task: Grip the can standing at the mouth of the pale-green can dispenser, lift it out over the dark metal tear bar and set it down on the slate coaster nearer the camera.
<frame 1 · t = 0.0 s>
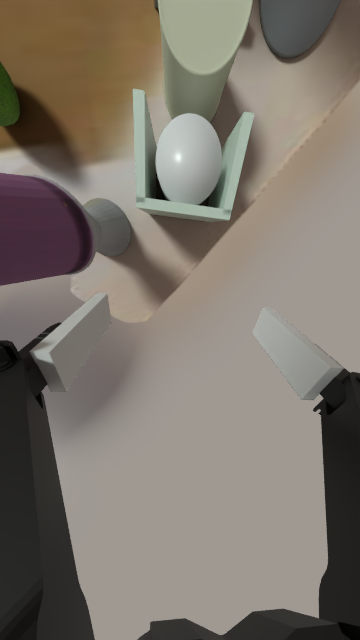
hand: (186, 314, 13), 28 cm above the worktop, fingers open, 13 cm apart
dispenser: (185, 170, 29), on the worktop
fruit: (7, 102, 24), on the worktop
can: (192, 89, 24), on the worktop
lamp: (106, 229, 34), on the worktop
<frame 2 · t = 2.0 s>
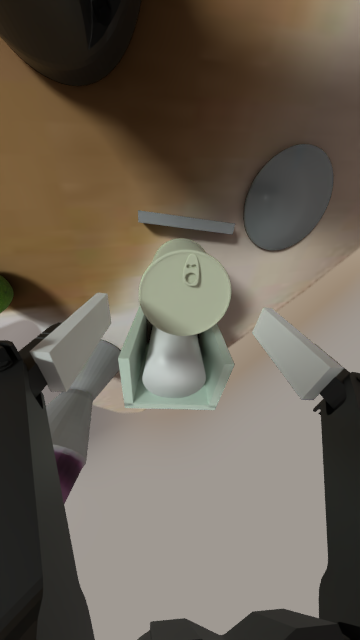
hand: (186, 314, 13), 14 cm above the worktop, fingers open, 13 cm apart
coaster: (284, 205, 21), on the worktop
dispenser: (175, 319, 30), on the worktop
fruit: (1, 282, 25), on the worktop
can: (180, 269, 25), on the worktop
lamp: (100, 356, 35), on the worktop
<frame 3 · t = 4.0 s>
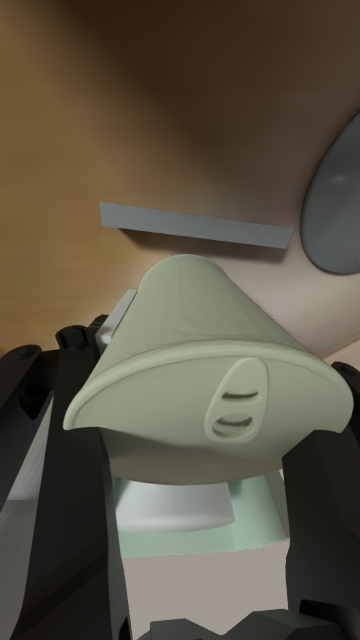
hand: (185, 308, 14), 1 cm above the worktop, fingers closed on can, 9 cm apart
dispenser: (175, 369, 20), on the worktop
can: (184, 302, 15), on the worktop, touching gripper
lamp: (70, 412, 25), on the worktop
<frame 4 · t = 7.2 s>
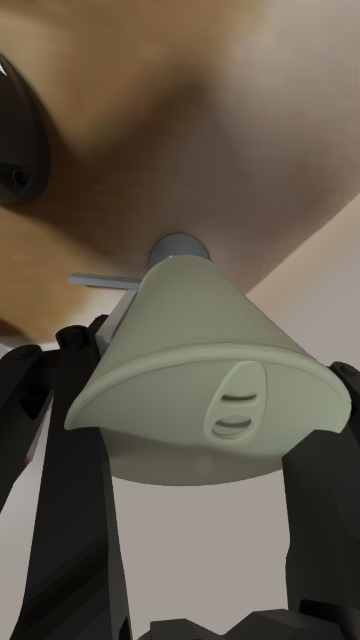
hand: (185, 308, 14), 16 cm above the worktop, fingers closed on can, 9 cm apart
coaster: (179, 267, 28), on the worktop
dispenser: (117, 344, 37), on the worktop
can: (184, 303, 15), point 15 cm above the worktop, touching gripper
lamp: (62, 372, 42), on the worktop
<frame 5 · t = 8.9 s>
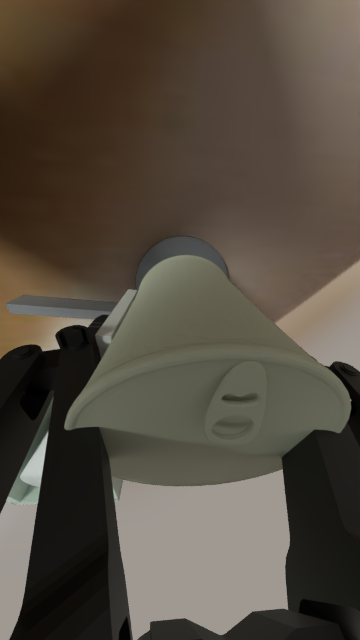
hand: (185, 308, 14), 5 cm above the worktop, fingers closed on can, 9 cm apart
coaster: (181, 286, 19), on the worktop
dispenser: (98, 383, 28), on the worktop
can: (184, 303, 15), point 4 cm above the worktop, touching gripper
when the fingers open (2 cm above the worktop, at t = 10.5 s): can stays where it is, resting on coaster.
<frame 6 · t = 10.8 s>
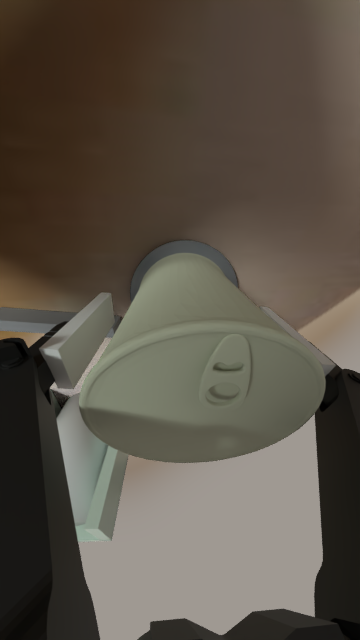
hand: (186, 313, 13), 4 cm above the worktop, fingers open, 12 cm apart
coaster: (184, 297, 16), on the worktop
dispenser: (91, 399, 25), on the worktop
can: (184, 299, 16), resting on coaster
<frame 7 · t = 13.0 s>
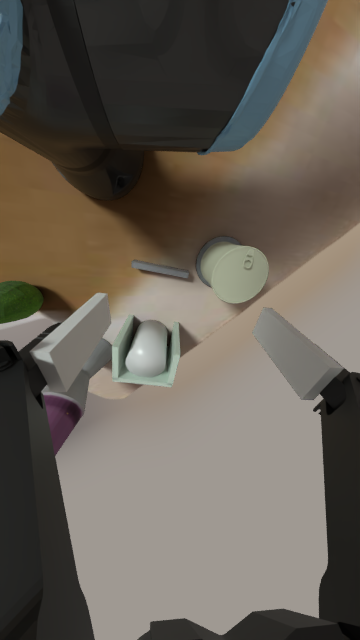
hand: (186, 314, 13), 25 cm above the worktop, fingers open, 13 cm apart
coaster: (220, 263, 35), on the worktop
dispenser: (153, 326, 43), on the worktop
fruit: (35, 292, 37), on the worktop
can: (220, 264, 35), resting on coaster
lamp: (96, 349, 46), on the worktop
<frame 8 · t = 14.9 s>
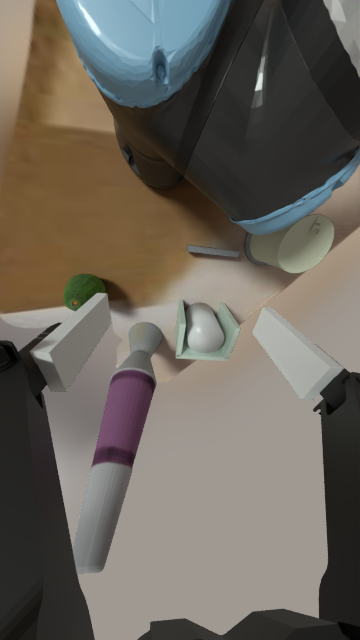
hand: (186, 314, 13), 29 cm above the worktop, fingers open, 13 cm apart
coaster: (268, 240, 36), on the worktop
dispenser: (200, 308, 45), on the worktop
fruit: (96, 284, 41), on the worktop
can: (268, 241, 36), resting on coaster
lamp: (145, 335, 50), on the worktop
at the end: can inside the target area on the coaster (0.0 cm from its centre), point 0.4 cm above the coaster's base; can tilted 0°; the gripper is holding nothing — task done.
